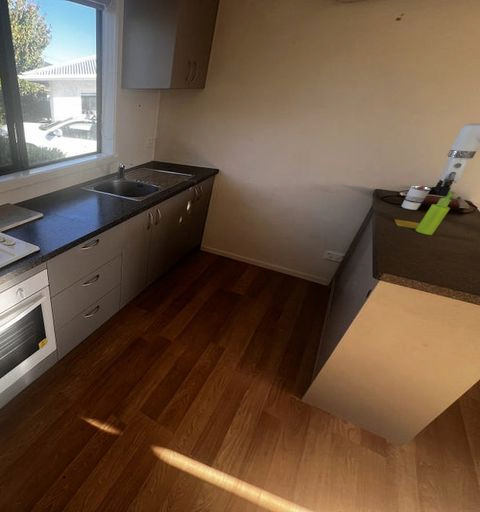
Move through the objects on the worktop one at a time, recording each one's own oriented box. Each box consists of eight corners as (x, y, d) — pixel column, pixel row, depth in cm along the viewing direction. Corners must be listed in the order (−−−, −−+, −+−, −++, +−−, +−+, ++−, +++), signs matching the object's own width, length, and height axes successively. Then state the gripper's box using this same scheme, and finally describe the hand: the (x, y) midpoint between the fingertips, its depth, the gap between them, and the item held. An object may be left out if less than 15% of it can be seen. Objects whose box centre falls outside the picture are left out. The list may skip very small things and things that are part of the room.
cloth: (426, 224, 147) (426, 224, 147) (430, 231, 140) (430, 230, 140) (394, 219, 153) (394, 219, 153) (396, 225, 146) (397, 225, 146)
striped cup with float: (423, 211, 164) (436, 190, 158) (406, 209, 166) (418, 189, 160) (411, 205, 173) (423, 185, 167) (395, 204, 174) (406, 184, 168)
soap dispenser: (412, 228, 143) (438, 188, 133) (432, 233, 138) (460, 192, 129) (411, 230, 139) (438, 190, 130) (431, 235, 135) (460, 194, 125)
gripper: (477, 158, 118) (454, 199, 126) (470, 152, 129) (449, 190, 137) (450, 156, 122) (429, 196, 130) (445, 151, 133) (426, 188, 141)
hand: (439, 193), depth 134 cm, fingers open, 9 cm apart
